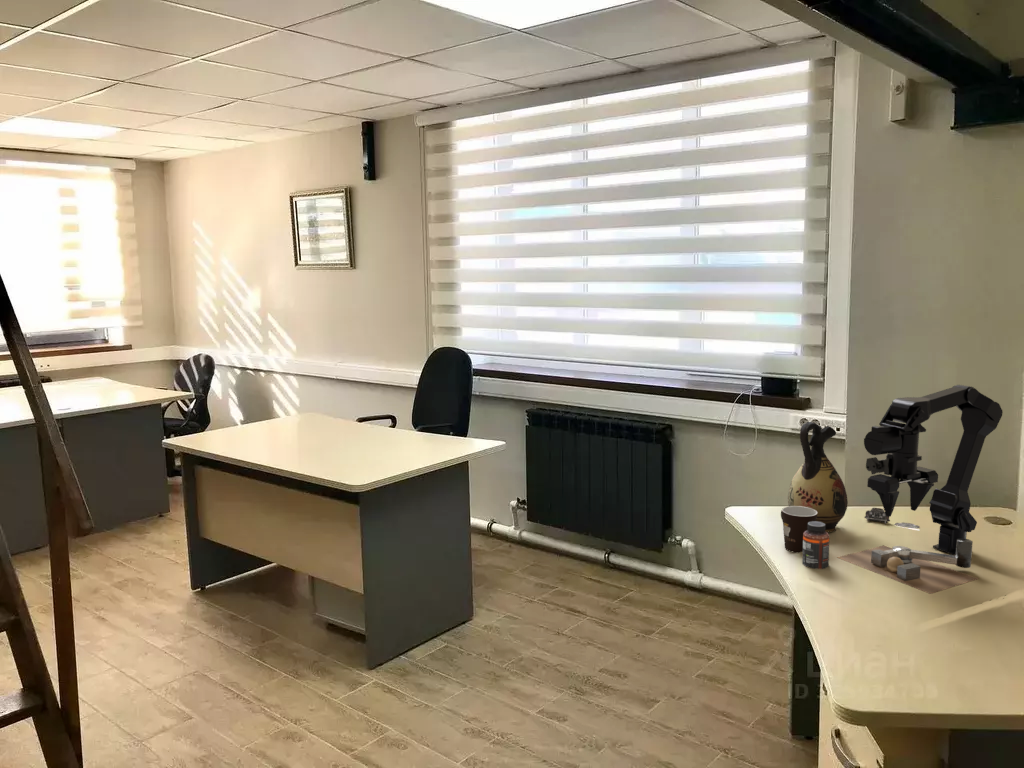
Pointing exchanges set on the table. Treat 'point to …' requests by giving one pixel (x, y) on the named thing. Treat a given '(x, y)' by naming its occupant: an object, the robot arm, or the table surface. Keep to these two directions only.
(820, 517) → the ceramic jug
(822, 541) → the supplement bottle
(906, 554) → the lever
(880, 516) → the car cutout
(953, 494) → the robot arm
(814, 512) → the coffee mug
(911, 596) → the table surface
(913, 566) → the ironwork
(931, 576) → the board
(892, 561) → the tan ball
